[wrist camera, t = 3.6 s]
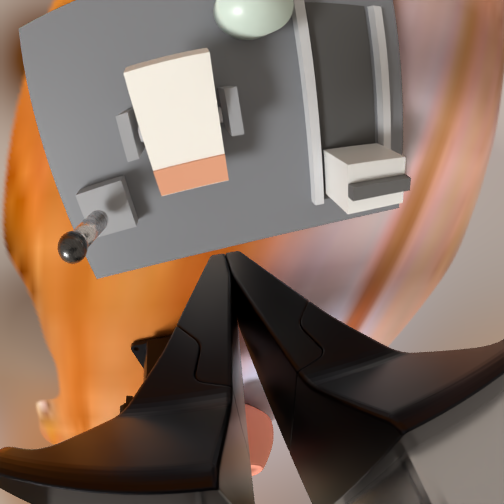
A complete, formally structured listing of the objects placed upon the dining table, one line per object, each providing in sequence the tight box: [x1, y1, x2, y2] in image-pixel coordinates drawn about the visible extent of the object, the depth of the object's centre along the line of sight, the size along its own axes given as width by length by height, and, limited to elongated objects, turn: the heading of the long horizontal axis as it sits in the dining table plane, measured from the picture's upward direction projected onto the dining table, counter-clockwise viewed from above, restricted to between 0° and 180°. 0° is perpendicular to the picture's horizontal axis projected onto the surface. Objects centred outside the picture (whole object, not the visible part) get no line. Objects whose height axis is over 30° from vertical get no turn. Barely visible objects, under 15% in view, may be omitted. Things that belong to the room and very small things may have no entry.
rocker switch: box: [124, 48, 229, 196], centre depth 13 cm, size 7×4×1 cm, turn 8°
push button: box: [213, 0, 294, 40], centre depth 12 cm, size 4×4×2 cm
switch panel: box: [19, 0, 403, 279], centre depth 15 cm, size 18×23×5 cm
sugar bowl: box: [245, 404, 273, 476], centre depth 32 cm, size 12×14×10 cm
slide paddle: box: [323, 143, 411, 214], centre depth 17 cm, size 3×4×4 cm
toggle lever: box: [58, 210, 108, 264], centre depth 14 cm, size 2×2×4 cm
